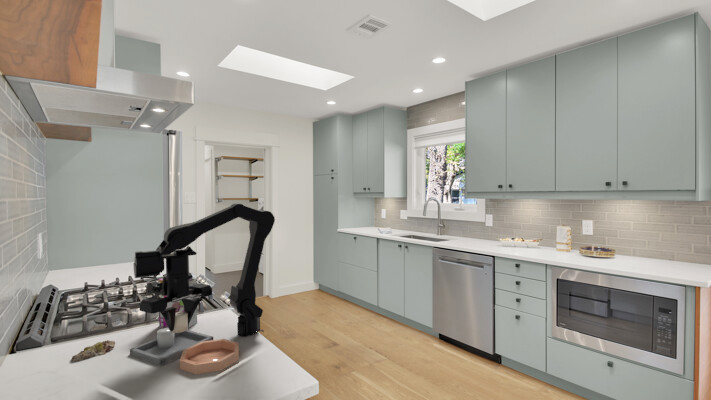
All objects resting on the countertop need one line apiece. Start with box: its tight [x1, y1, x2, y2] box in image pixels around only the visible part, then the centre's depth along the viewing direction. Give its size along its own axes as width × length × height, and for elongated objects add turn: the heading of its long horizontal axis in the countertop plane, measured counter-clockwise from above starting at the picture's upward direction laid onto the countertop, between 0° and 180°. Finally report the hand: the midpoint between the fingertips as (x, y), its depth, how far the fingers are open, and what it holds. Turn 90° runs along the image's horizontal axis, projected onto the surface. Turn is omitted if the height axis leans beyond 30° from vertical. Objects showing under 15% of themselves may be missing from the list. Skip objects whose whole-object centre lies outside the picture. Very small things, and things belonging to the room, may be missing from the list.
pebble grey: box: [156, 327, 175, 349], centre depth 103 cm, size 4×4×4 cm
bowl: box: [179, 338, 240, 375], centre depth 94 cm, size 14×14×3 cm
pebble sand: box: [171, 312, 189, 333], centre depth 99 cm, size 4×4×4 cm
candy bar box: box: [157, 277, 198, 329], centre depth 118 cm, size 11×5×16 cm, turn 79°
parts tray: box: [129, 329, 214, 366], centre depth 101 cm, size 16×14×2 cm
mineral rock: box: [70, 339, 116, 362], centre depth 99 cm, size 11×4×8 cm
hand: (179, 327), depth 99 cm, fingers closed on pebble sand, 4 cm apart
